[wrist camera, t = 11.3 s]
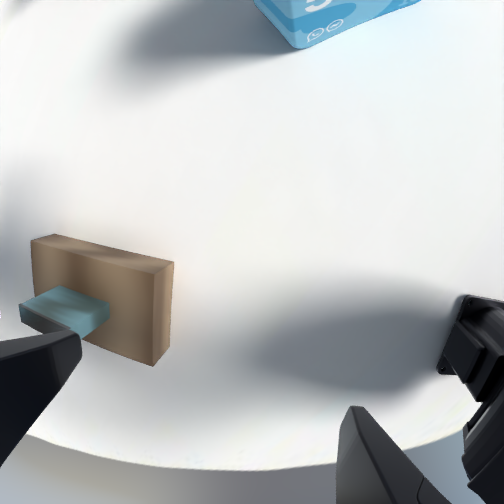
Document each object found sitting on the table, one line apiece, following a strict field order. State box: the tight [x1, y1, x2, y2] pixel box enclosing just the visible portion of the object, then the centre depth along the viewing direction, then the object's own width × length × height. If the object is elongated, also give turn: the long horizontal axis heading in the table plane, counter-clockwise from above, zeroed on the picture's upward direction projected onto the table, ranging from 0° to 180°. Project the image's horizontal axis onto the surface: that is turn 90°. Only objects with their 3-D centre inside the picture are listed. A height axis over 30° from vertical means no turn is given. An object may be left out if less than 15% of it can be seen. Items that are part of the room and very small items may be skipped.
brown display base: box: [19, 234, 174, 367], centre depth 19 cm, size 12×7×8 cm, turn 81°
